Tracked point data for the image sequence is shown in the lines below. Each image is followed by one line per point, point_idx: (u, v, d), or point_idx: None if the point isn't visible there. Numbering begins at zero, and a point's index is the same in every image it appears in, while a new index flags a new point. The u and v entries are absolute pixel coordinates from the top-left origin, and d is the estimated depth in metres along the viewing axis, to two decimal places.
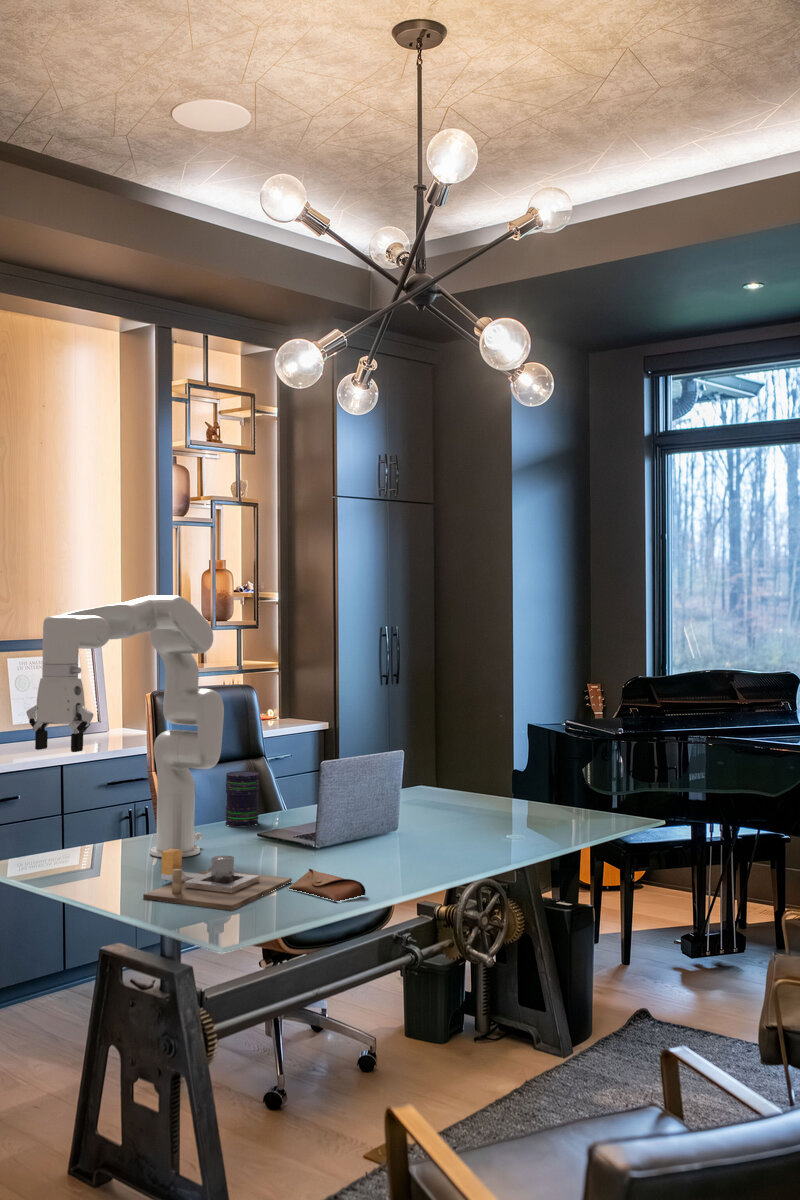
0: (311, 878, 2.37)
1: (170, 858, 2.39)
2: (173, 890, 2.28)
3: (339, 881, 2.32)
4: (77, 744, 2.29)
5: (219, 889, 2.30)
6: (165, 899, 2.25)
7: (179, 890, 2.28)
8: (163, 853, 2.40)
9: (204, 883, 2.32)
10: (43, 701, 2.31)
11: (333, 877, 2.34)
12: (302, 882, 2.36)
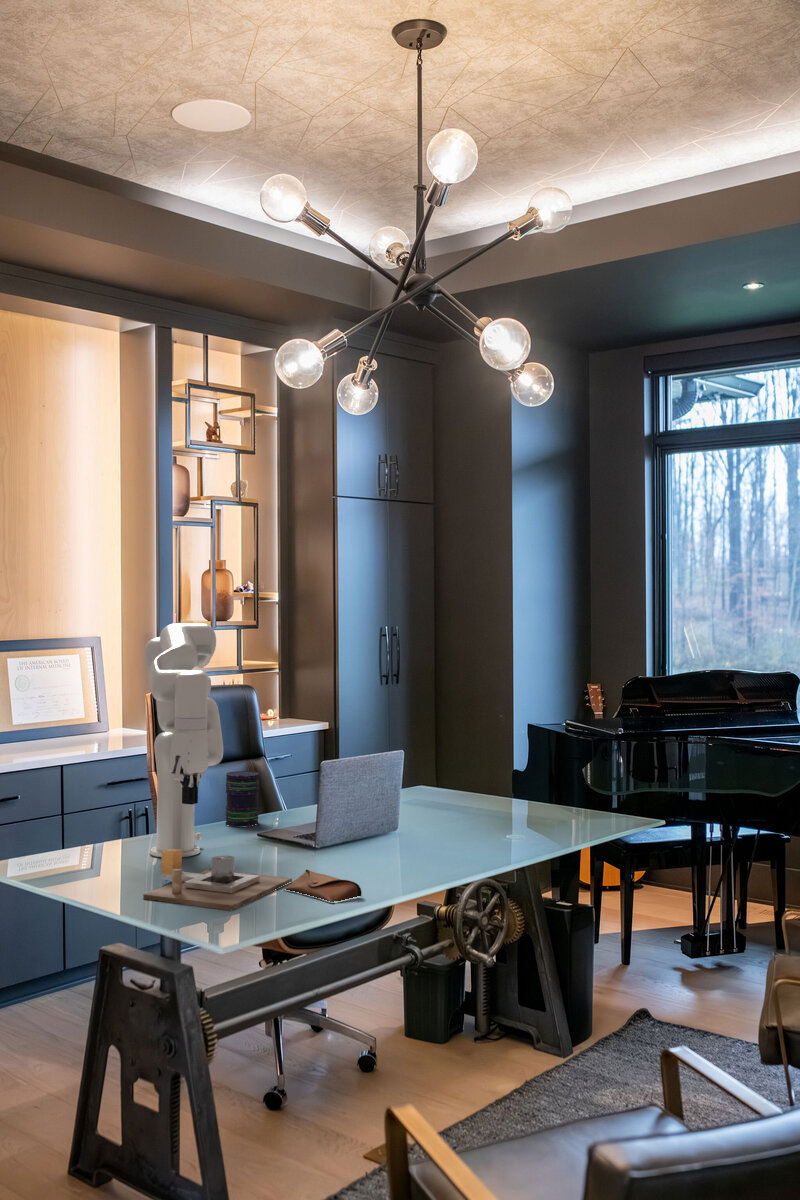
0: (307, 879, 2.36)
1: (170, 858, 2.39)
2: (173, 890, 2.28)
3: (335, 882, 2.31)
4: None
5: (219, 889, 2.30)
6: (165, 899, 2.25)
7: (179, 890, 2.28)
8: (163, 853, 2.40)
9: (204, 883, 2.32)
10: (193, 753, 2.45)
11: (329, 878, 2.33)
12: (298, 882, 2.36)
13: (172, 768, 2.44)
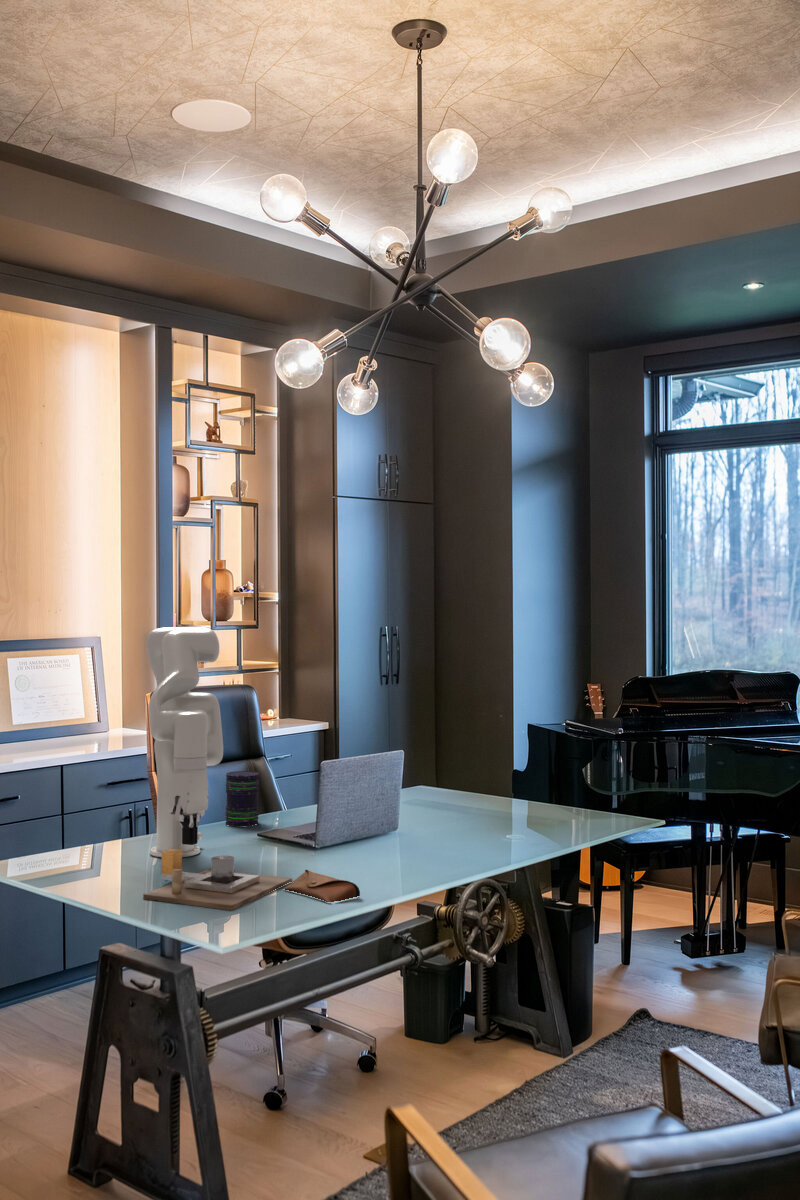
0: (306, 879, 2.36)
1: (170, 858, 2.39)
2: (173, 890, 2.28)
3: (334, 882, 2.31)
4: None
5: (219, 889, 2.30)
6: (165, 899, 2.25)
7: (179, 890, 2.28)
8: (163, 853, 2.40)
9: (204, 883, 2.32)
10: (192, 794, 2.45)
11: (328, 878, 2.33)
12: (297, 882, 2.36)
13: (172, 808, 2.44)
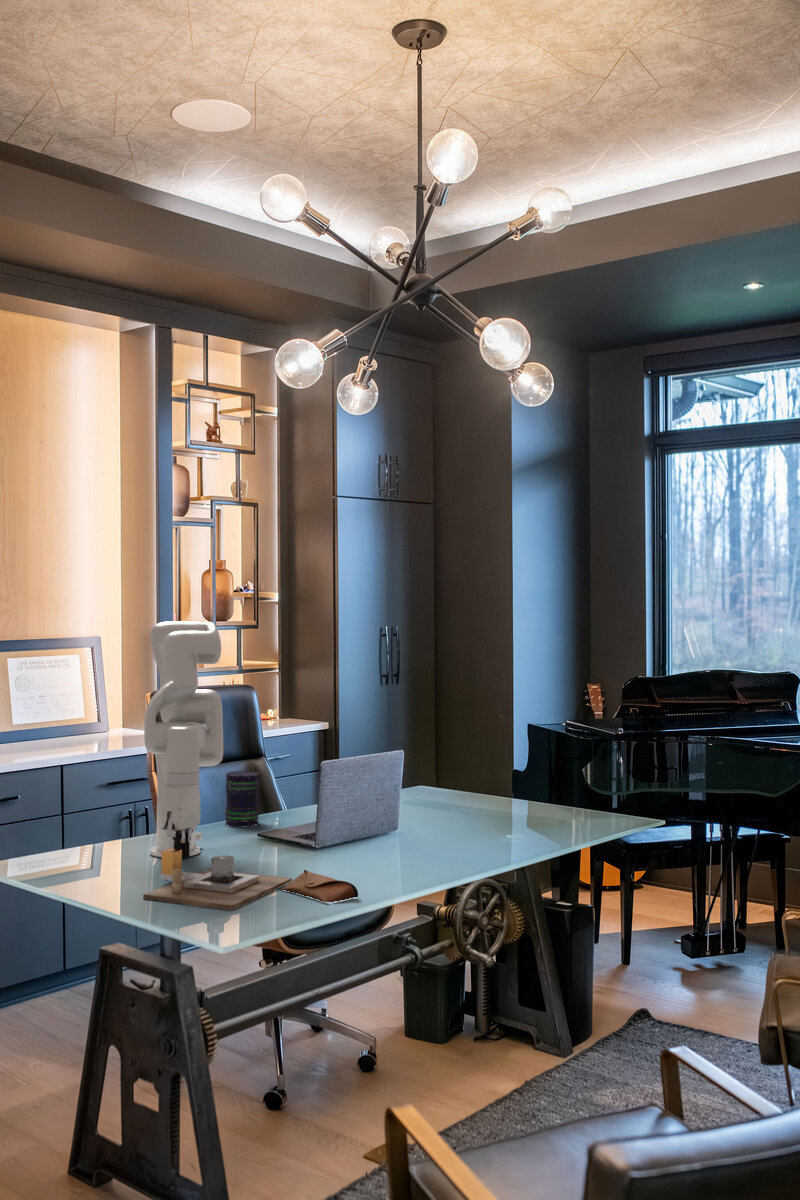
0: (305, 879, 2.36)
1: (170, 858, 2.39)
2: (173, 890, 2.28)
3: (332, 883, 2.30)
4: None
5: (219, 889, 2.30)
6: (165, 899, 2.25)
7: (179, 890, 2.28)
8: (163, 853, 2.40)
9: (204, 883, 2.32)
10: (185, 809, 2.42)
11: (326, 878, 2.33)
12: (296, 883, 2.35)
13: (163, 824, 2.41)
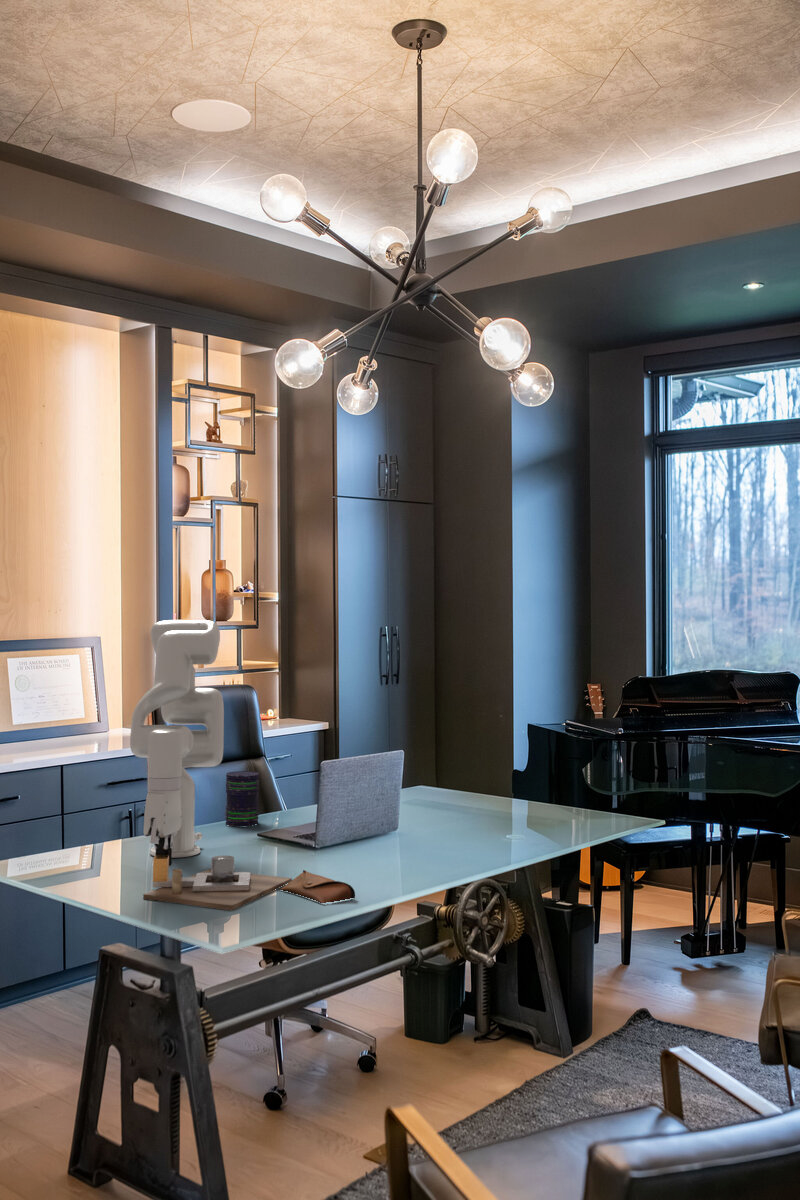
0: (303, 879, 2.36)
1: (164, 864, 2.33)
2: (173, 890, 2.28)
3: (329, 883, 2.30)
4: None
5: (234, 888, 2.31)
6: (165, 899, 2.25)
7: (179, 890, 2.28)
8: (155, 860, 2.33)
9: (215, 884, 2.31)
10: (168, 815, 2.36)
11: (324, 879, 2.32)
12: (294, 883, 2.35)
13: (147, 831, 2.35)
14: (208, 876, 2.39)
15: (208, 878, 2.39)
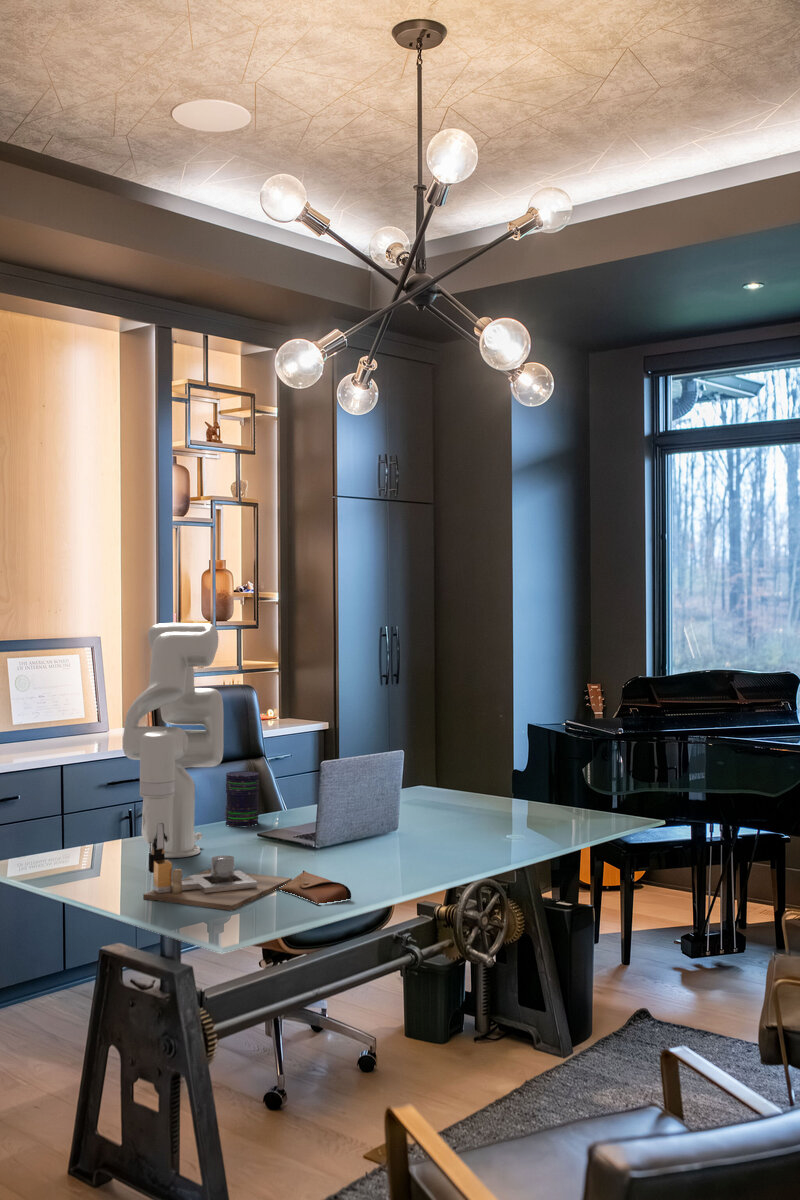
0: (301, 880, 2.36)
1: (169, 869, 2.29)
2: (173, 890, 2.28)
3: (325, 884, 2.29)
4: None
5: (244, 886, 2.32)
6: (165, 899, 2.25)
7: (179, 890, 2.28)
8: (160, 865, 2.28)
9: (224, 884, 2.31)
10: None
11: (321, 879, 2.32)
12: (292, 883, 2.35)
13: (153, 838, 2.28)
14: (203, 878, 2.38)
15: None
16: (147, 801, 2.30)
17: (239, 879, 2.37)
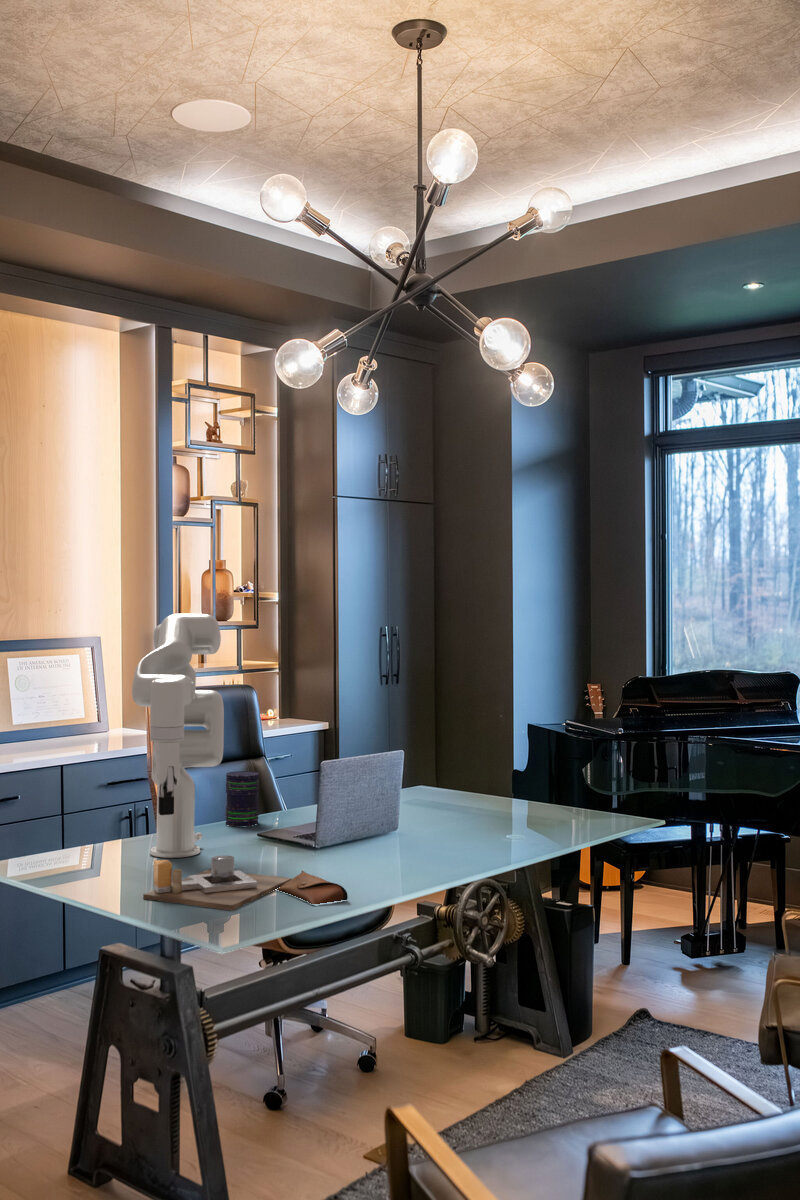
0: (299, 880, 2.35)
1: (169, 869, 2.29)
2: (173, 890, 2.28)
3: (322, 884, 2.29)
4: None
5: (244, 886, 2.32)
6: (165, 899, 2.25)
7: (179, 890, 2.28)
8: (160, 865, 2.28)
9: (224, 884, 2.31)
10: None
11: (318, 880, 2.31)
12: (290, 883, 2.35)
13: (163, 780, 2.35)
14: (203, 878, 2.38)
15: None
16: (157, 745, 2.36)
17: (239, 879, 2.37)
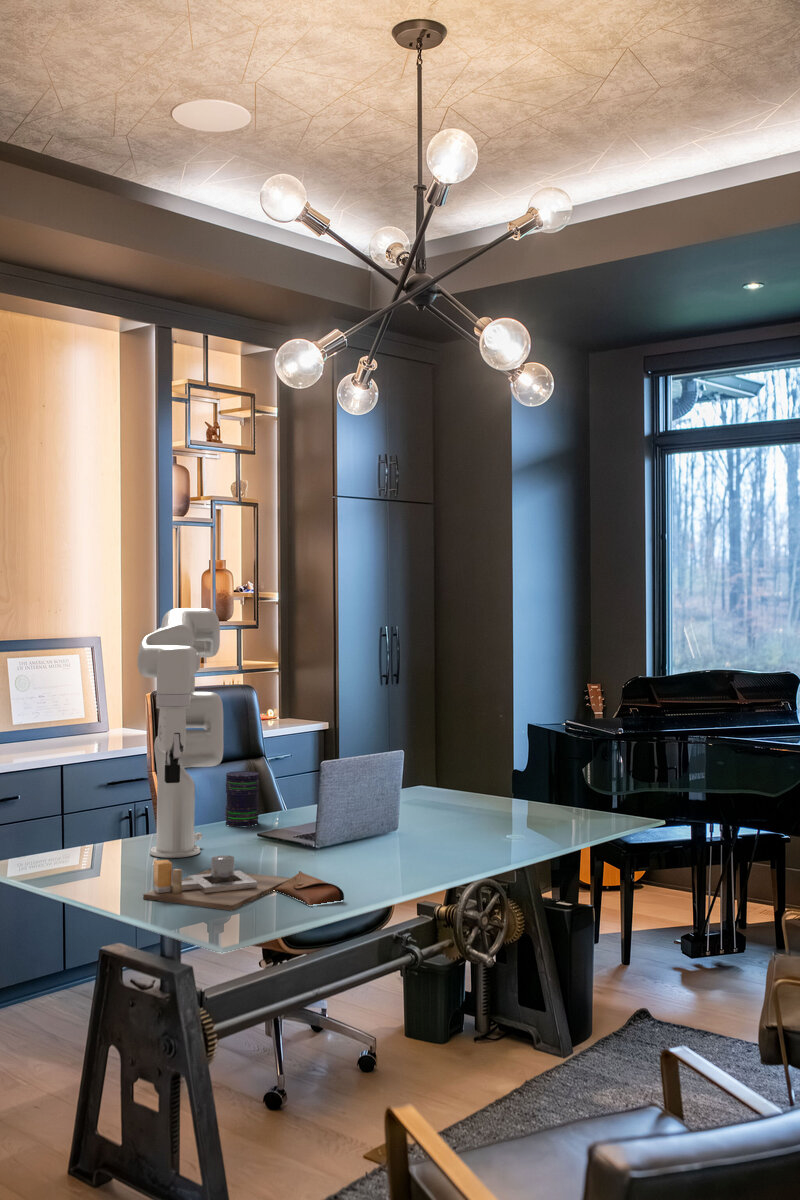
0: None
1: (169, 869, 2.29)
2: (173, 890, 2.28)
3: (319, 885, 2.28)
4: None
5: (244, 886, 2.32)
6: (165, 899, 2.25)
7: (179, 890, 2.28)
8: (160, 865, 2.28)
9: (224, 884, 2.31)
10: None
11: (315, 880, 2.31)
12: (287, 883, 2.35)
13: (170, 746, 2.36)
14: (203, 878, 2.38)
15: None
16: (164, 712, 2.38)
17: (239, 879, 2.37)
